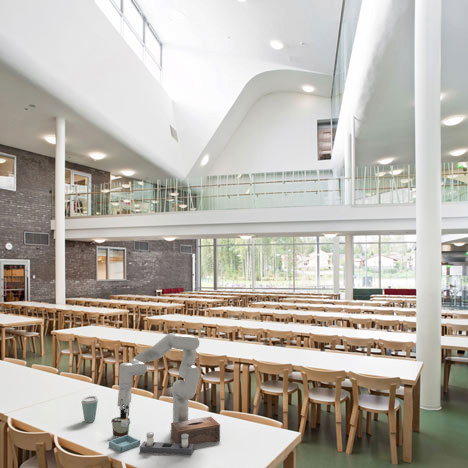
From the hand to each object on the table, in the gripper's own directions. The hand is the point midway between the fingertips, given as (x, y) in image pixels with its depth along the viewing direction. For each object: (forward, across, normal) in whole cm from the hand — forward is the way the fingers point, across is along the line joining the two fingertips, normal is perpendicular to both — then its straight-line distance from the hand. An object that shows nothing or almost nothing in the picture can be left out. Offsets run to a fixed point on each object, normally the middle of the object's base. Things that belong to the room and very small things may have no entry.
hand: (124, 417), depth 245 cm
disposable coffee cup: (+17, -37, -38) cm, 56 cm away
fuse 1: (+16, +4, +17) cm, 23 cm away
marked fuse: (+5, 0, 0) cm, 5 cm away
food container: (+17, -17, -7) cm, 25 cm away
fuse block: (+17, +4, +27) cm, 32 cm away
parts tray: (+17, 0, 0) cm, 17 cm away
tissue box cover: (+17, -14, +39) cm, 45 cm away
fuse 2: (+16, +4, +37) cm, 40 cm away
